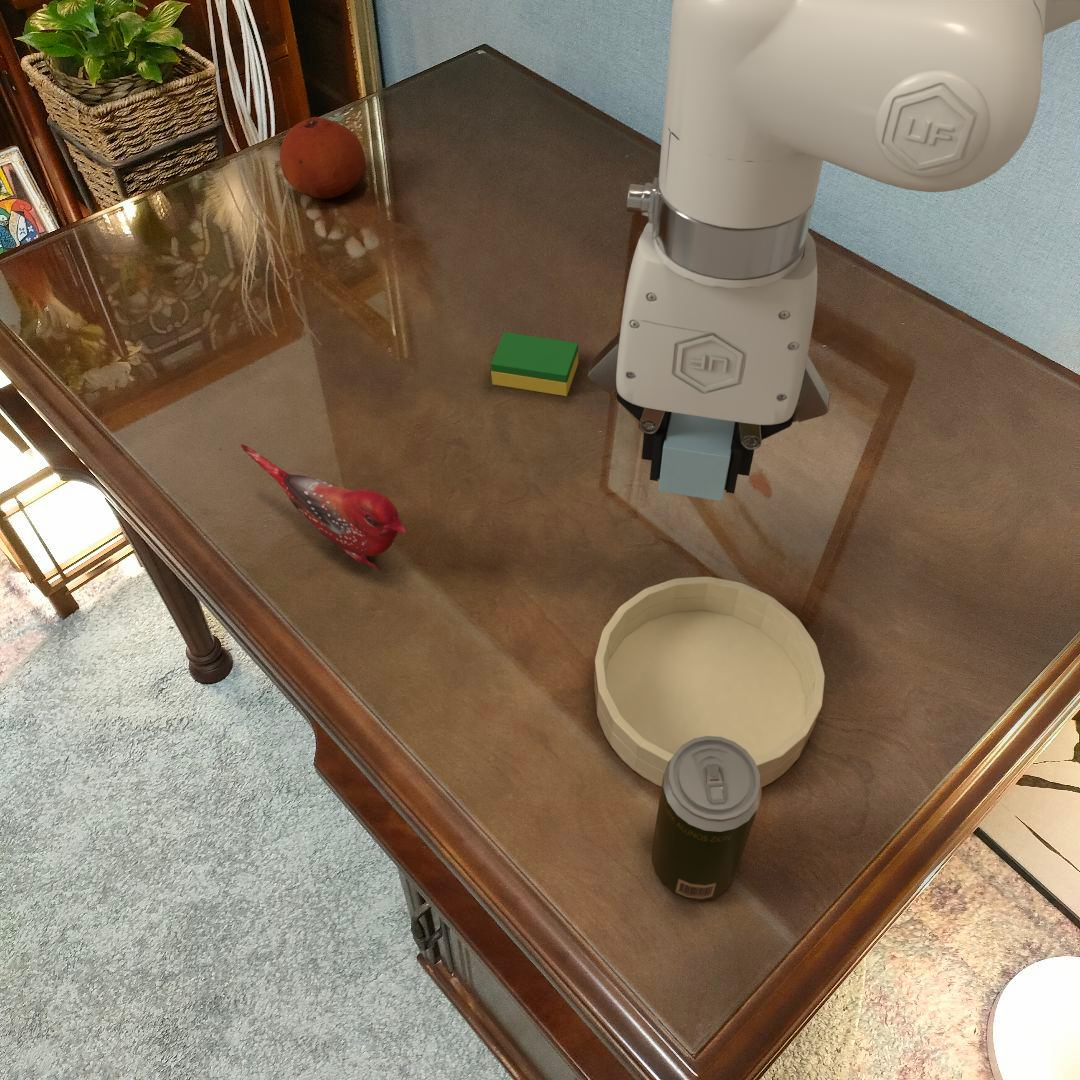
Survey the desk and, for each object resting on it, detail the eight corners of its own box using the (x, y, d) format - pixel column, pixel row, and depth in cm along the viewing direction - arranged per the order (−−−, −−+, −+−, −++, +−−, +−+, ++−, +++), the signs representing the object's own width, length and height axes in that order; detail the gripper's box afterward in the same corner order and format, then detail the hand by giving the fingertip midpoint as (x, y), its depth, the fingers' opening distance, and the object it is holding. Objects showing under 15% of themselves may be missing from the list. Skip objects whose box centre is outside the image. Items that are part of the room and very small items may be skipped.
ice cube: (729, 456, 66) (738, 411, 63) (722, 501, 63) (730, 457, 60) (668, 446, 66) (673, 401, 63) (658, 491, 64) (663, 446, 61)
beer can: (743, 902, 63) (773, 820, 53) (656, 907, 63) (671, 827, 53) (728, 819, 66) (754, 729, 57) (645, 824, 66) (658, 734, 57)
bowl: (821, 631, 75) (832, 599, 72) (802, 821, 66) (813, 794, 63) (618, 592, 78) (620, 559, 75) (573, 769, 68) (573, 741, 65)
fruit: (271, 198, 112) (253, 130, 106) (324, 161, 117) (310, 93, 111) (332, 223, 109) (318, 154, 103) (384, 183, 114) (373, 115, 108)
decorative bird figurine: (407, 610, 77) (388, 526, 69) (246, 506, 84) (213, 419, 76) (431, 585, 78) (416, 500, 71) (271, 485, 85) (241, 397, 78)
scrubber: (578, 363, 94) (578, 342, 92) (566, 396, 91) (566, 375, 90) (505, 352, 95) (504, 331, 93) (492, 384, 93) (490, 363, 91)
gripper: (549, 242, 49) (552, 492, 64) (904, 286, 47) (825, 538, 61) (581, 159, 54) (578, 411, 68) (906, 196, 51) (832, 449, 66)
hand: (695, 468), depth 64 cm, fingers closed on ice cube, 4 cm apart
